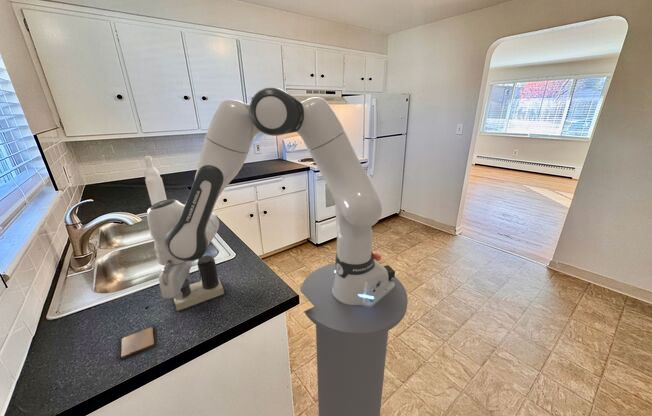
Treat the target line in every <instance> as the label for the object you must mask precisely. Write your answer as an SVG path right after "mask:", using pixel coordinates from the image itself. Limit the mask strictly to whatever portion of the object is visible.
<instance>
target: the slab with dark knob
mask: <svg viewBox="0 0 652 416" xmlns="http://www.w3.org/2000/svg"><path fill="white" fill-rule="evenodd" d="M218 280H219V284H218V286H217V287H215V288H213V289H209V290H206V289H203V288H202V283H201V280H199V281H196V282H194V283H191V284H190V289H191V293H190V294H189V295H188V296H186V297H183V298H182V300H176V298H173V301H174V305H175V308H176V312H179V311H181V310H184V309H187V308H190V307H192V306H195V305H198V304H200V303H202V302H207V301H208V300H209V301H210V300H211V299H214V298H216V297H219V296H222V295H224V294H225V290H224V287H223V284H222V283H221V280H220V278H219V277H218ZM170 299H172V298H170Z"/></svg>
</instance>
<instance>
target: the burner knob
mask: <svg viewBox="0 0 652 416" xmlns="http://www.w3.org/2000/svg"><path fill="white" fill-rule="evenodd" d="M190 285H191V284H190V282H188V281H184V283H183V285H182V287H181V290H180V291H181V292H183V295H184V296H183V297H186V296H188V295H189V294H190V293H191V289H190Z"/></svg>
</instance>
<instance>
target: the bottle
mask: <svg viewBox="0 0 652 416" xmlns="http://www.w3.org/2000/svg"><path fill="white" fill-rule="evenodd" d="M144 161H145V165H146V169H145V170H144V178H145V179H146V178H147V177H148V173H156V174H157V176H159V177H161V174H160V171H159V170H158V169H157V168H156V167H155V166H154V162H153V157H152V156H151V155H145V156H144Z"/></svg>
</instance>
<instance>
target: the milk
mask: <svg viewBox="0 0 652 416" xmlns="http://www.w3.org/2000/svg"><path fill="white" fill-rule="evenodd" d="M144 181H145V185H146V189H147V194H148V196H149V200H150V205H151V206H152V205H154V204H156V203H158V202H160V201H164V200H168V198H167V194H166V190H165V186H164V185H165V184H164V182H163V177H161V176H160V177H159V176H157V174H156V173H148V177H147V178H145V179H144Z"/></svg>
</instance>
